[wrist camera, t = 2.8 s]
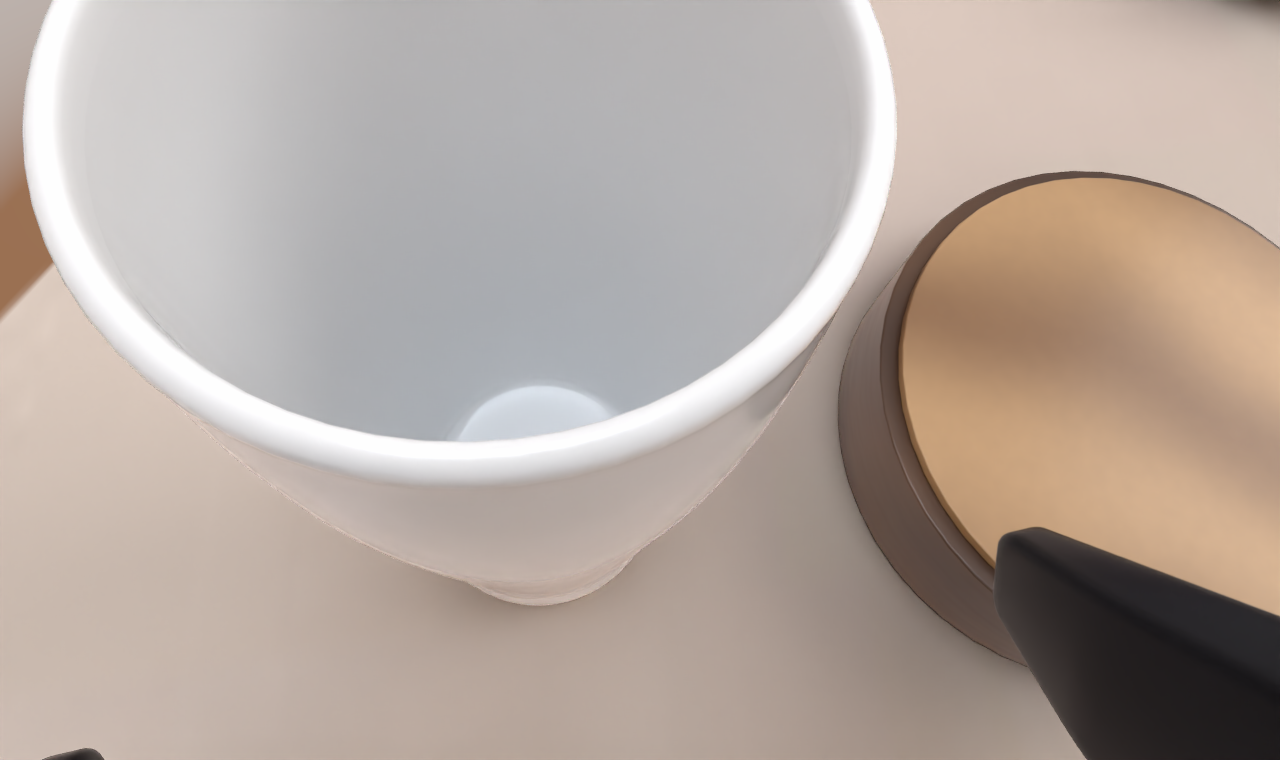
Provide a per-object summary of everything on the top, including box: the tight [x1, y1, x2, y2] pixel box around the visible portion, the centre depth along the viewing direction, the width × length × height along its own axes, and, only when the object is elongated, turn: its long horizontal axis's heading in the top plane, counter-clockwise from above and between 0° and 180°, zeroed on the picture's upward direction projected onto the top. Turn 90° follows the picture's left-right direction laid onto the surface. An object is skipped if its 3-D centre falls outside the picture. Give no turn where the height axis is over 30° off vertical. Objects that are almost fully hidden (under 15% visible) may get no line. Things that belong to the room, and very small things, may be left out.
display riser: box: [838, 171, 1280, 666], centre depth 20 cm, size 12×12×4 cm
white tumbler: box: [22, 0, 897, 606], centre depth 13 cm, size 7×7×15 cm
